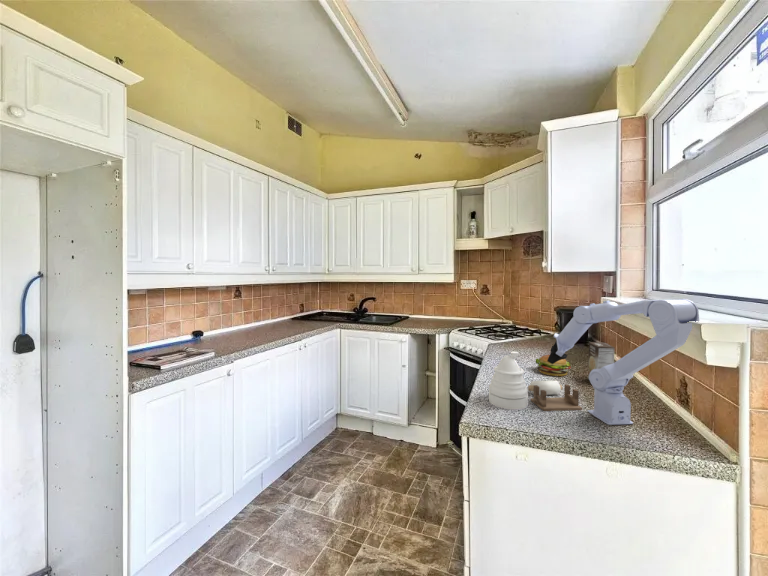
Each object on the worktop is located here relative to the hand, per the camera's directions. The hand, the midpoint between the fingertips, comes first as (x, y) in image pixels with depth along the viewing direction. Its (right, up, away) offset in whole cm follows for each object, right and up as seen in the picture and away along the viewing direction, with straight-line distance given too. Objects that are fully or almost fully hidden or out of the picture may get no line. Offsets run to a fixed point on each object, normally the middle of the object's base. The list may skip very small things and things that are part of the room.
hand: (552, 356), depth 124 cm
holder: (-5, -15, -11) cm, 19 cm away
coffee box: (+25, -14, +10) cm, 30 cm away
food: (+13, -13, +25) cm, 31 cm away
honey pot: (-20, -15, -8) cm, 26 cm away
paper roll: (-3, -12, -1) cm, 12 cm away
